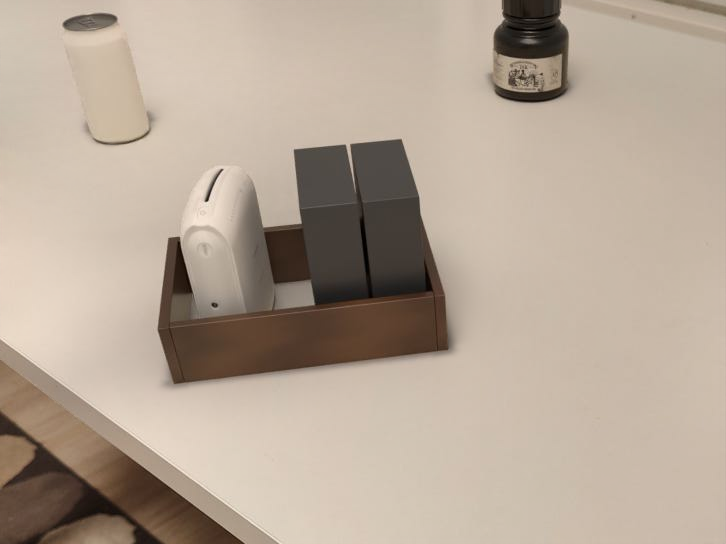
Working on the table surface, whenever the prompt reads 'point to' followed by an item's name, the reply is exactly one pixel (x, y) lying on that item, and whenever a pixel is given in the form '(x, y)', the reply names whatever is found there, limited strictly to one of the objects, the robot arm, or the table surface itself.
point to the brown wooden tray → (295, 321)
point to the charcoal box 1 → (330, 224)
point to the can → (105, 77)
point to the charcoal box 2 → (388, 218)
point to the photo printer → (226, 245)
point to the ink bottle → (530, 50)
